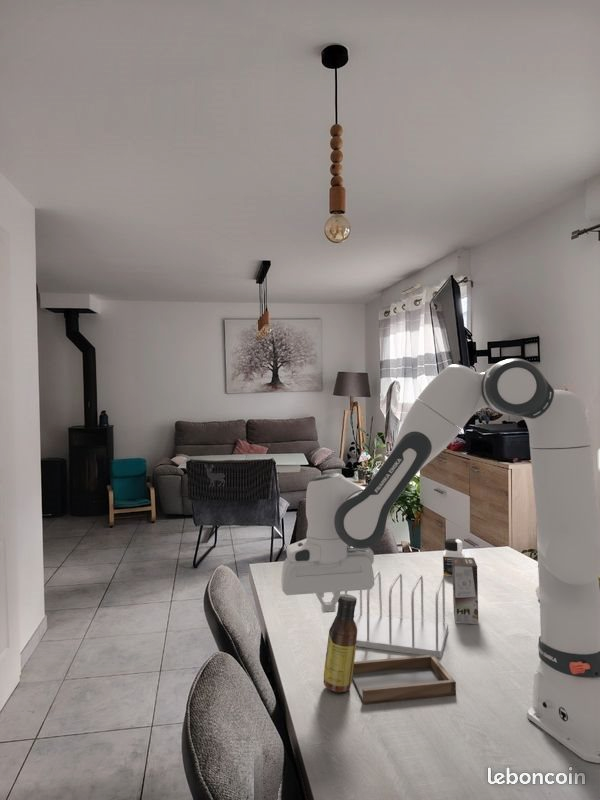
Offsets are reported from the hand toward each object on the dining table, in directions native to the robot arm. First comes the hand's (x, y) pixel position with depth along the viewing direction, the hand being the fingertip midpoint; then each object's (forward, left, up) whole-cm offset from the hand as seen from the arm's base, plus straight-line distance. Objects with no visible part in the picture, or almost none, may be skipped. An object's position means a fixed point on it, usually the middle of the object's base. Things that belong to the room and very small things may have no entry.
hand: (328, 611), depth 123 cm
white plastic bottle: (+71, -58, -17) cm, 93 cm away
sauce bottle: (0, -1, -17) cm, 17 cm away
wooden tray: (-1, -16, -17) cm, 23 cm away
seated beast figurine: (+39, -75, -17) cm, 87 cm away
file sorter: (+23, -22, -18) cm, 37 cm away
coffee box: (+32, -45, -17) cm, 58 cm away
